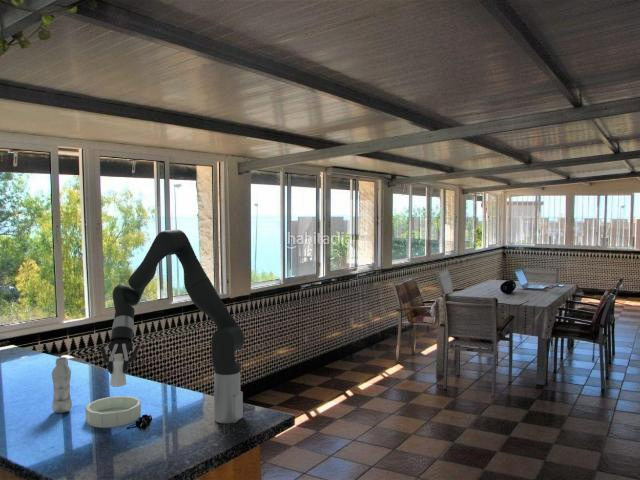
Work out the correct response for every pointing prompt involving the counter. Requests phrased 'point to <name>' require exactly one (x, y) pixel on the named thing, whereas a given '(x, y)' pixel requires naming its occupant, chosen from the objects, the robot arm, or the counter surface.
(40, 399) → the counter surface
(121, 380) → the salt shaker
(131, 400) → the bowl
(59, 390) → the plastic bottle
